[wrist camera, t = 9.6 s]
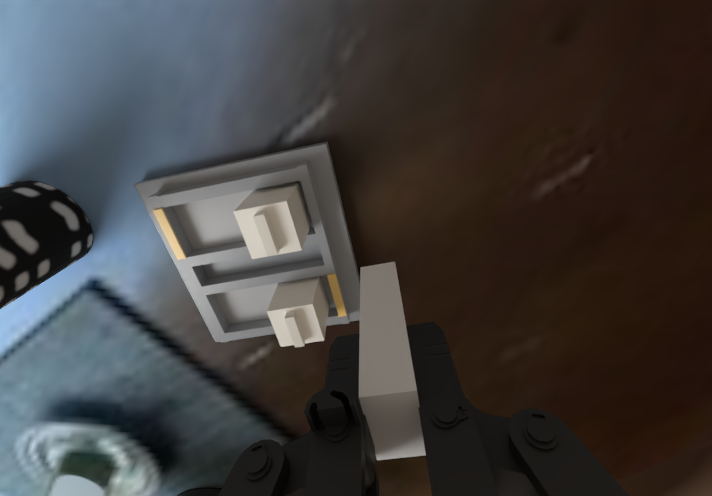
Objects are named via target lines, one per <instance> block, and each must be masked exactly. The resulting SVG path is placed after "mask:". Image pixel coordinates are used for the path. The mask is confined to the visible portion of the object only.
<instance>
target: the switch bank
mask: <svg viewBox="0 0 712 496" xmlns="http://www.w3.org/2000/svg"><path fill="white" fill-rule="evenodd" d="M295 182H299V185H300V189H301V192H302V196H303V199H304V202H305V206H306V209H307V213H308V216H309V220H310V223H311V226H310V229H309V232H308V235H307V237H306V240H305V243H304V246H303V249H302V251H296V252H290V253H285V254H279V255H274V256H268V257H262V258H257V259H252V258H251V255H250V253H249V250H248V248H247V245H246V243H245V240H244V238H243V235H242V233H241V230H240V227H239V225H238V222H237V220H236V217H235V215H234V212H233V211H234V210H235V209H236V208H237V207H238V206H239V205H240V204H241V203H242V202H243V201H244V200H245V199H246V198H247V197H248V196H249V195H250V194H251V193H252V192H253V191H255V190H260V189H265V188H270V187H275V186H280V185H285V184H290V183H295ZM134 186H135V188H136V189H137V191H138V193H139V195H140V197H141V199H142V201H143V203H144V205H145V207H146V209H147V211H148V213H149V215H150V217H151V218H152V220H153V222H154V224H155V226H156V228H157V230H158V232H159V234H160V236H161V238H162V240H163V242H164V244H165V246H166V247H167V249H168V251H169V253H170V255H171V257H172V259H173V261H174V263H175V265H176V267H177V269H178V271H179V273H180V275H181V276H182V278H183V280H184V282H185V284H186V286H187V288H188V290H189V292H190V294H191V296H192V298H193V300H194V302H195V304H196V305H197V307H198V309H199V311H200V313H201V315H202V317H203V319H204V321H205V323H206V325H207V327H208V329H209V331H210V333H211V334H212V336H213V338H214V340H215V342H219V341H221V343H222V342H229V341H230V340H237V339H243V338H250V337H257V336H263V335H270V334H275V331H274V329H273V326H272V324H271V321H270V319H269V316H268V314H267V309H268V307H269V304H270V302H271V300H272V297H273V295H274V292H275V290H276V287H277V285H278V283H281V282H287V281H293V280H299V279H305V278H311V277H317V276H321V280H322V283H323V286H324V290H325V293H326V297H327V300H328V303H329V311H328V318H327V325H326V326H329V325H335V324H347V323H349V322H350V321H356V320H360V277H359V273H358V269H357V265H356V260H355V256H354V252H353V248H352V243H351V239H350V235H349V231H348V226H347V222H346V218H345V213H344V209H343V205H342V201H341V196H340V192H339V188H338V184H337V179H336V175H335V171H334V167H333V162H332V158H331V154H330V150H329V145H328V141H327V142H323V143H318V144H313V145H308V146H304V147H299V148H294V149H290V150H285V151H280V152H275V153H271V154H266V155H261V156H257V157H252V158H247V159H243V160H238V161H233V162H228V163H224V164H219V165H214V166H210V167H205V168H200V169H196V170H191V171H186V172H181V173H177V174H172V175H167V176H163V177H158V178H153V179H148V180H144V181H141V182H139V183H136V184H134Z"/></svg>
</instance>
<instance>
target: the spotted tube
mask: <svg viewBox="0 0 712 496" xmlns="http://www.w3.org/2000/svg"><path fill="white" fill-rule="evenodd" d="M92 241H93V233H92V229H91V225H90V223H89V221H88V219H87V217H86V215H85V214H84V212H83V211H82V209H81V208H80V207H79V206H78V205H77V204H76V203H75V202H74V201H73V200H72V199H71V198H70V197H68V196H67V195H66V194H64V193H63V192H61V191H60V190H58V189H56V188H54V187H52V186H50V185H47V184H44V183H40V182H36V181H19V182H15V183H12V184H9V185H5V186H2V187H0V309H1V308H3V307H4V306H6V305H8V304H9V303H11V302H12V301H14V300H15V299H17V298H19V297H20V296H22V295H23V294H25V293H27V292H28V291H30V290H31V289H33V288H34V287H36V286H38V285H39V284H41V283H42V282H44V281H46V280H47V279H49V278H50V277H52V276H53V275H55V274H57V273H58V272H60V271H61V270H63V269H64V268H66V267H68V266H69V265H71V264H72V263H74V262H76V261H77V260H79V259H80V258H82V257H83V256H85V255H86V254H87V253H88V251H89V250H90V248H91V245H92Z"/></svg>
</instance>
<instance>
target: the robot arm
mask: <svg viewBox="0 0 712 496" xmlns="http://www.w3.org/2000/svg"><path fill="white" fill-rule="evenodd" d="M328 361H329V363H328V368H327V376H326V384H325V389H322V390H321V391H319V392H318V393H316V394H315V395H313V397H312V398H311V399H310V400H309V401H308V403H307V405H306V408H305V410H304V412H305V415H306V417H307V420H308V422H309V424H310V427H311V429H312V430H310V431H309V432H308V433H307V434H306V435H304V436H302V437H300V438H298V439H296V440H294V441H292V442H290V443H287V444H285V445H283V446H280V444H279V443H278V442H275V441H273V440H261V441H259V442H257V443H254V444H252V445H251V446H250V447H249V448H247V449H246V450H245V451H244V452H243V453H242V454H241V456H240V457H239V459H238V460H237V461H236V463H235V465H234V467H233V469H232V471H231V473H230V474H229V476H228V478H227V480H226V482H225V484H224V486H223V487H222V489H221V490H219V489H195V490H190V491H187V492H184V493H182V494H180V495H178V496H379V482H378V477H377V473H376V470H375V455H376V458H377V460H385V459H395V458H405V457H414V456H424V455H426V458H427V464H428V471H429V477H430V483H431V489H432V495H433V496H628V495H627V493H626V492H625V491H624V490H623V489H622V488H621V486H620V485H619V484H618V483H617V482H616V481H615V480H614V479H613V477H612V476H611V475H610V474H609V473H608V472H607V471H606V469H605V468H604V467H603V466H602V465H601V464H600V463H599V462H598V460H597V459H596V458H595V457H594V456H593V455H592V454H591V452H590V451H589V450H588V449H587V448H586V447H585V446H584V445H583V443H582V442H581V441H580V440H579V439H578V438H577V437H576V435H575V434H574V433H573V432H572V431H571V430H570V429H569V428H568V426H567V425H566V424H565V423H563V422H562V421H561V420H560V419H559V418H557V417H556V416H555V415H552V414H550V413H548V412H546V411H544V410H538V409H532V408H531V409H525V410H521V411H519V412H517V413H516V414H514V415H513V417H512V418H505V417H500V416H494V415H490V414H487V413H484V412H482V411H480V410H478V409H476V408H475V407H474V406H473V405H471V404H470V403H469V402H468V400H467V399H466V398H465V396H464V394H463V392H462V389H461V385H460V382H459V379H458V376H457V373H456V370H455V366H454V363H453V360H452V357H451V355H450V351H449V348H448V345H447V341H446V338H445V335H444V332H443V330H442V329H441V328H440V327H439V326H438V325H437V324H436V323H435V322H431V323H424V324H417V325H410V326H406V322H405V317H404V311H403V305H402V300H401V294H400V288H399V282H398V277H397V271H396V265H395V262H390V263H384V264H378V265H372V266H366V267H361V269H360V334H355V335H348V336H341V337H336V339H335V341H334V342H333V344H332V346H331V347H330V351H329V360H328Z"/></svg>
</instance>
